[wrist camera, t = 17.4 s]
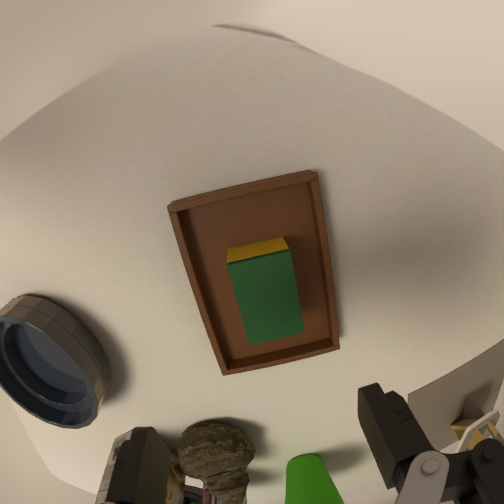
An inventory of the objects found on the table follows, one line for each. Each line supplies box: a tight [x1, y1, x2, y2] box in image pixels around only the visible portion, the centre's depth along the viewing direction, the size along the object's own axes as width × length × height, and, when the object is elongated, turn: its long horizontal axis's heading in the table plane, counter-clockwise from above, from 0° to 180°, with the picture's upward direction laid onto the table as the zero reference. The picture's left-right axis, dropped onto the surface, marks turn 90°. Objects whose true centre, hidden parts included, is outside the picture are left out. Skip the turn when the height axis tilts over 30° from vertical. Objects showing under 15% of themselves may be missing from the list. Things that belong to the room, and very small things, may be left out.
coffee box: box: [95, 430, 186, 504], centre depth 26 cm, size 9×6×16 cm
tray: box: [167, 170, 340, 376], centre depth 25 cm, size 16×11×2 cm
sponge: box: [227, 237, 305, 345], centre depth 24 cm, size 7×4×4 cm, turn 13°
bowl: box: [0, 295, 110, 429], centre depth 26 cm, size 15×15×5 cm
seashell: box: [176, 422, 256, 504], centre depth 29 cm, size 11×12×10 cm
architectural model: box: [408, 339, 504, 453], centre depth 30 cm, size 21×25×14 cm
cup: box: [285, 454, 344, 504], centre depth 31 cm, size 9×9×11 cm
